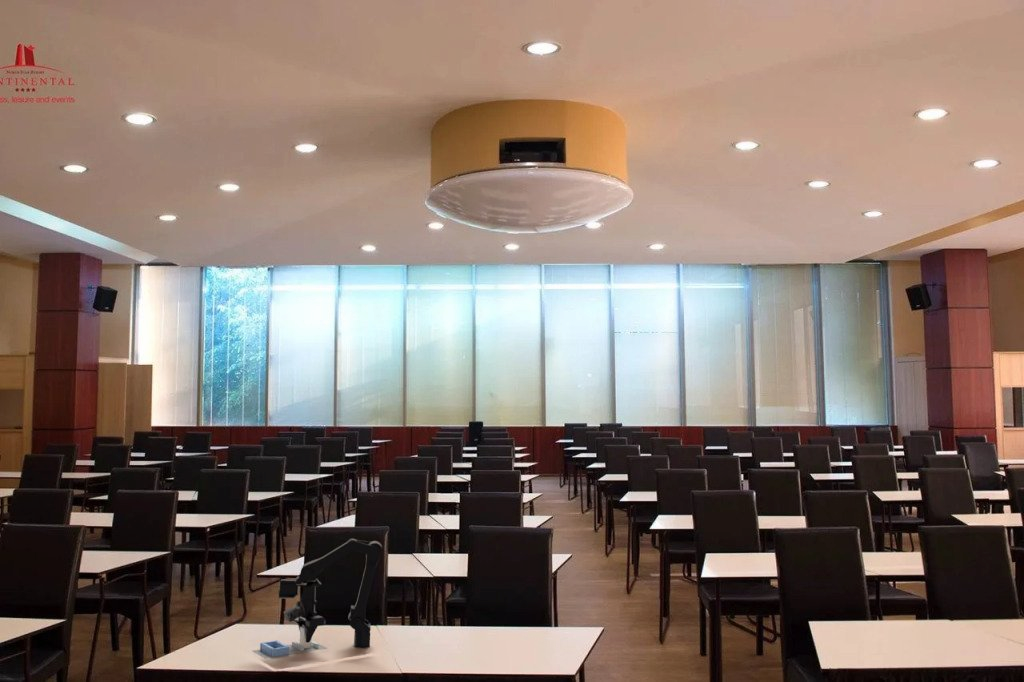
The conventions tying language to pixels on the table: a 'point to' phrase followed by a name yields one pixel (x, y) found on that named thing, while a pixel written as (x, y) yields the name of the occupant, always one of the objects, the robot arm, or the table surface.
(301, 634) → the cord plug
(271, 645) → the board
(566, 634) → the table surface
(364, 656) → the table surface
